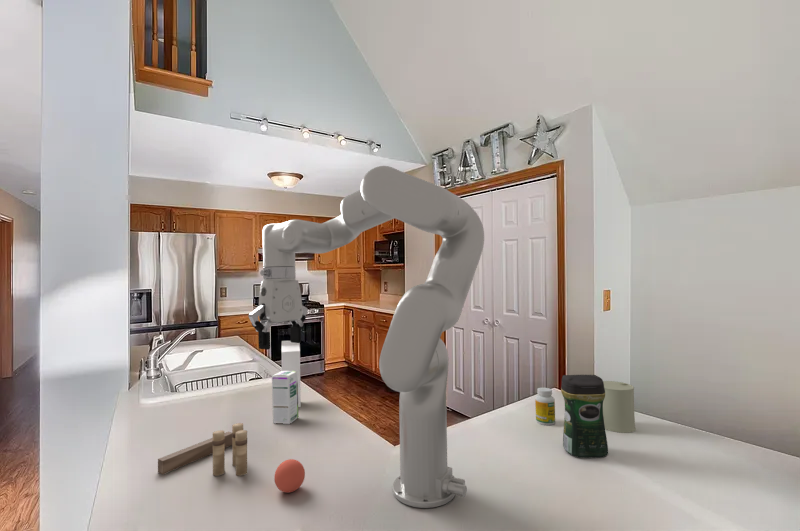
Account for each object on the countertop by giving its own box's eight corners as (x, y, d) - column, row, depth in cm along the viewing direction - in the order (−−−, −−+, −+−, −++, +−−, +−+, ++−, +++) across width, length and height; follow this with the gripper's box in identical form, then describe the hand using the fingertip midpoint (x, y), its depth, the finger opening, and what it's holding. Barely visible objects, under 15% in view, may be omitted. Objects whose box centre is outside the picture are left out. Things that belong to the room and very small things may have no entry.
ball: (311, 487, 82) (311, 457, 82) (289, 501, 77) (289, 470, 77) (290, 480, 85) (290, 451, 85) (268, 493, 80) (267, 463, 80)
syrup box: (290, 424, 117) (289, 375, 118) (271, 423, 118) (271, 374, 119) (298, 417, 123) (298, 370, 123) (281, 416, 124) (280, 370, 124)
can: (643, 429, 109) (642, 385, 109) (619, 435, 106) (617, 389, 106) (614, 418, 118) (613, 378, 118) (590, 423, 114) (589, 381, 115)
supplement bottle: (541, 417, 119) (540, 385, 120) (558, 422, 116) (557, 389, 116) (532, 422, 116) (531, 389, 116) (550, 427, 112) (549, 393, 112)
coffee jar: (597, 445, 99) (595, 371, 100) (613, 460, 92) (610, 379, 92) (558, 445, 100) (556, 371, 100) (570, 460, 92) (568, 379, 93)
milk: (300, 407, 133) (300, 341, 133) (281, 409, 131) (281, 342, 131) (299, 402, 139) (299, 338, 139) (281, 403, 137) (281, 339, 137)
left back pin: (227, 472, 89) (227, 431, 89) (217, 477, 87) (217, 435, 87) (220, 469, 90) (220, 429, 91) (210, 474, 88) (210, 433, 88)
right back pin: (246, 462, 93) (245, 424, 94) (236, 467, 91) (236, 427, 91) (239, 460, 95) (238, 422, 95) (229, 464, 92) (229, 425, 93)
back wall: (233, 444, 104) (233, 432, 104) (162, 474, 88) (162, 460, 88) (228, 443, 105) (228, 431, 105) (157, 472, 89) (157, 459, 89)
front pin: (249, 472, 89) (249, 431, 89) (240, 476, 87) (240, 435, 87) (242, 469, 90) (242, 429, 90) (233, 474, 88) (232, 433, 88)
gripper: (260, 274, 87) (261, 353, 87) (316, 274, 102) (317, 341, 101) (238, 275, 91) (239, 350, 91) (295, 275, 106) (296, 339, 105)
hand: (280, 345), depth 96 cm, fingers open, 9 cm apart
